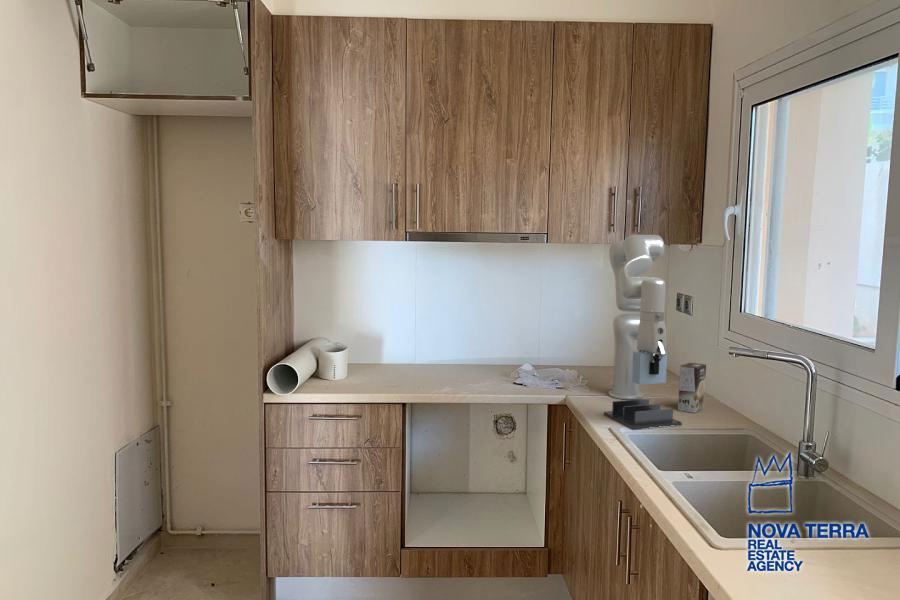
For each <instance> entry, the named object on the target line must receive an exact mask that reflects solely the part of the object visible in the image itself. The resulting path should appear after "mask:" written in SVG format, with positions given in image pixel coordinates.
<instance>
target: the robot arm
mask: <svg viewBox="0 0 900 600" xmlns="http://www.w3.org/2000/svg"><path fill="white" fill-rule="evenodd" d="M665 249H666V247H665V242H664V240H663V238H662V237H661V236H660V235H658V234H631V235H628V236H627V237H625V239H624V240H617V241H614V242H612V243H611V244H610V245H609V250H608V256H609V257H608V258H609V262H610V265H611V269H612V271H613V275H614V282H615V304H616V308H617V309H618V310H619V311H623V312H632V313H630V314H629V313H623V314H619V315H617V316H615V317H614V319H613V320H612V321H613V322H612V331H613V340H614V342H613V343H614V357H613V380H612V382H610V384H609V385H610V386H611V387H612V389H611V390H608V395H609V396H610V397H611V398H615V399H619V400H639V399H643V396H644V395H643V392H641V391H640V389H639V388H640V385H639V384H637V383H634V382H632V377H633V352H639V351H646V352H650V353H651V362H650V370H649V374H651V375H654V374H659V362H660V361H661V359H662V357H664V356H665V352H667V345H668V344H667V327H666V322H665V303H666V300H665V299H666V282H665V280H664V279H662V278H661V277H653V276H641V275H644V274H645V273H648V272H649V271H650V270H651V268H652V266H653V263H654V262H656V261H658V260H659V259H661V258H662V256H664V253H665ZM634 312H635V313H636V314H635V313H634ZM637 312H638V313H639V314H637ZM636 340H637V341H636ZM635 341H636V342H637V344H636V343H635ZM656 351H657V352H656ZM654 354H657V355H656V356H655V357H654Z"/></svg>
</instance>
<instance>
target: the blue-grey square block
mask: <svg viewBox="0 0 900 600" xmlns="http://www.w3.org/2000/svg"><path fill="white" fill-rule="evenodd" d="M656 352H657V351H656ZM656 355H657V354H654V357H655V356H656ZM650 362H651V353H650V352H646V351H639V352H633V377H632V382H634V383H637V384H639V386H640V385H652V384H653V385H655V384H667V368H668V364H667V363H668V352H667V351H666V352H665V356H664V357H662V359H661V361H660V362H659V374H654V375H651V374H649V370H650Z"/></svg>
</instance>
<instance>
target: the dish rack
mask: <svg viewBox="0 0 900 600" xmlns="http://www.w3.org/2000/svg"><path fill="white" fill-rule="evenodd" d="M611 405H612V408H611V409H612V410H611V411H603V415H604V416H605V417H608V418H610V419H612V420H613V421H616V422H617V423H619V424H621V425H622V426H625V427H627V428H629V429H631V430H636V431H637V430H643V429H642V428H648V429H650V428H649V427H659V426H671V425H675V426H674V427H677V426H676V425H683V422H682V421H680V420H677V419H675V418H674V408H665V409H662V408H661V407H662V406H661V405H662V404H661V403H651V404H650V398H640V399H625V400H615V401H613V400H612V404H611ZM671 427H672V426H671ZM659 428H660V427H659Z"/></svg>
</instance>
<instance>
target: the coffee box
mask: <svg viewBox="0 0 900 600" xmlns="http://www.w3.org/2000/svg"><path fill="white" fill-rule="evenodd" d="M679 367H680V368H679V383H678V399H677V400H678V402H677V404H678V405H677V406H678V407H677V410H678V411H681V412H685V413H691V414H696V413H698V412H700V411H702V410H703V409H704V408H705V391H706V377H707V375H706V374H707V373H706V372H707V364H704V363H696V362H687V363H684V364H681V365H679Z"/></svg>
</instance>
